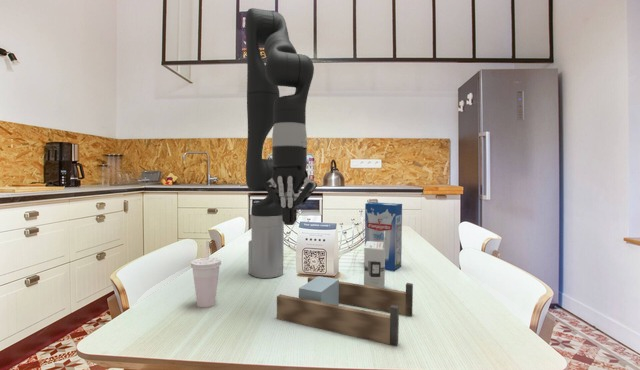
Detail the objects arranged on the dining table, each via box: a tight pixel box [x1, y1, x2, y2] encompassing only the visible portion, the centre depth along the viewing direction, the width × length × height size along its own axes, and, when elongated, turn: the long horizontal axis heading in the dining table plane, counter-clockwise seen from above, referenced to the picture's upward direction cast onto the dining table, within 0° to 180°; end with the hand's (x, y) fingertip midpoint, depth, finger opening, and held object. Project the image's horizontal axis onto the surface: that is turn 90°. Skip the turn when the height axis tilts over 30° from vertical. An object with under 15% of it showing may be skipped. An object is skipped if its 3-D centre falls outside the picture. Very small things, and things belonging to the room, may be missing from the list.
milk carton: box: [364, 201, 403, 272], centre depth 105 cm, size 10×6×20 cm, turn 58°
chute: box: [276, 276, 414, 347], centre depth 68 cm, size 24×14×6 cm, turn 64°
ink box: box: [363, 231, 386, 288], centre depth 82 cm, size 9×5×15 cm, turn 168°
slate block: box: [298, 275, 340, 306], centre depth 70 cm, size 5×9×6 cm, turn 154°
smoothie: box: [190, 240, 222, 308], centre depth 73 cm, size 6×6×14 cm
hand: (289, 224), depth 73 cm, fingers closed
